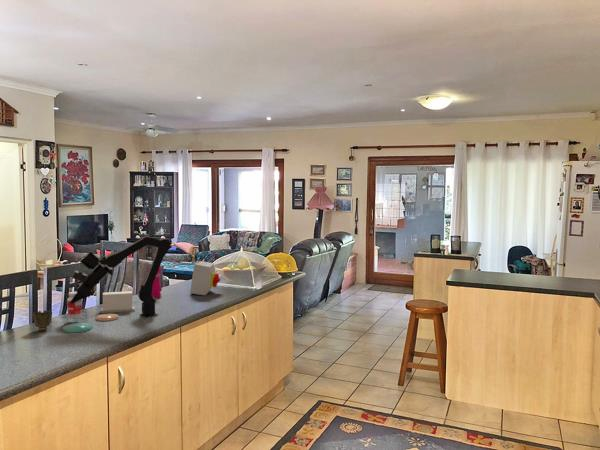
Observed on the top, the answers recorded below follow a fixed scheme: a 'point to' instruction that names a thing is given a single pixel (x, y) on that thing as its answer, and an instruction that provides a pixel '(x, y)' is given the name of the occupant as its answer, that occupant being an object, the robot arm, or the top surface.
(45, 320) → the cup
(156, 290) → the pepper mill
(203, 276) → the electrical switch box
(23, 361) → the top surface
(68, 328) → the teal plate
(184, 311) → the top surface
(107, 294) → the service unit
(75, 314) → the pill bottle
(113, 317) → the terracotta plate
